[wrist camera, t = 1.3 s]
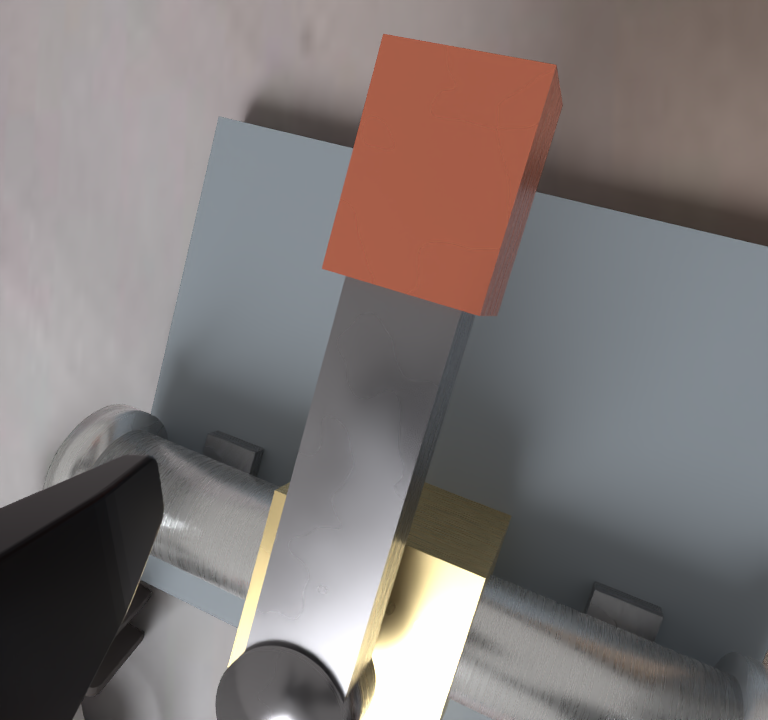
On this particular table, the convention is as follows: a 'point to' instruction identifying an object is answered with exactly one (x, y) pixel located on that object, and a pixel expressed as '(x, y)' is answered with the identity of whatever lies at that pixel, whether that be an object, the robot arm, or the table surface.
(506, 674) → the pipe and valve
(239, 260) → the slate board
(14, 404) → the table surface
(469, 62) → the lever
